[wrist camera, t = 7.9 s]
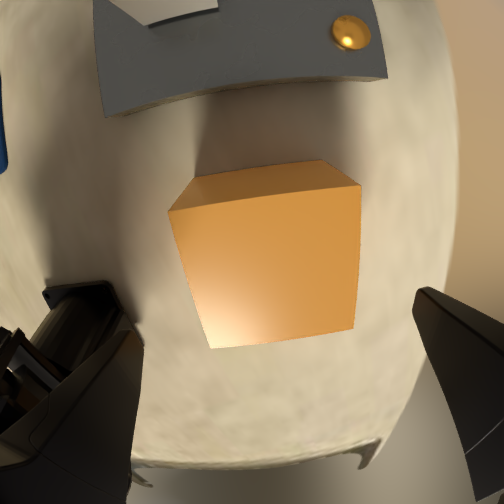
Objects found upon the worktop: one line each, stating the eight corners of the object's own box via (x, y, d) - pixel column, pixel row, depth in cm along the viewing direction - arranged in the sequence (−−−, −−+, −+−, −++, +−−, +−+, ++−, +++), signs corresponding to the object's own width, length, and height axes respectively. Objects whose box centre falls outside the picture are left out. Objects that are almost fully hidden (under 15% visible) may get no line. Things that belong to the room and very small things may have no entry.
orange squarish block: (218, 284, 16) (210, 348, 11) (193, 177, 13) (167, 212, 8) (326, 269, 15) (353, 328, 11) (322, 159, 13) (360, 185, 8)
